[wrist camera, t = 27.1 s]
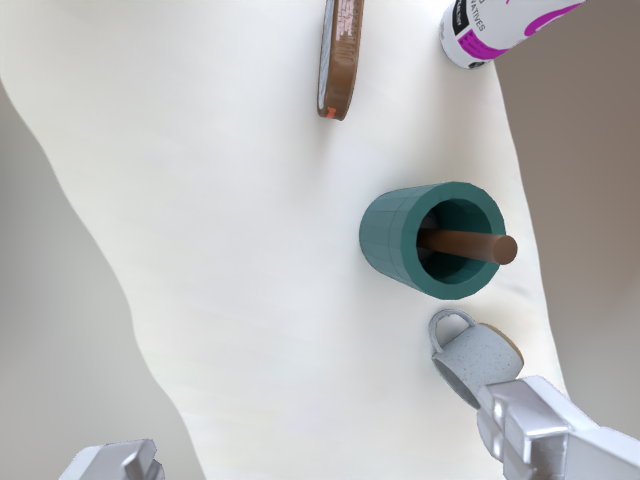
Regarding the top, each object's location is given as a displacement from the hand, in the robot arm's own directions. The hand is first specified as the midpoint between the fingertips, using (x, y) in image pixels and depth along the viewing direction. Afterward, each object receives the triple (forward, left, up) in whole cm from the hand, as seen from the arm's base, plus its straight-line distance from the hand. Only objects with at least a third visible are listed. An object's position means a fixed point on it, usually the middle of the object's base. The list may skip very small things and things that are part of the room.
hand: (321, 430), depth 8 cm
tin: (-20, +13, -29) cm, 38 cm away
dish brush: (+2, +17, -28) cm, 33 cm away
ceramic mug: (+18, +21, -29) cm, 40 cm away
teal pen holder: (+2, +17, -29) cm, 34 cm away
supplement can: (-20, +31, -29) cm, 47 cm away
